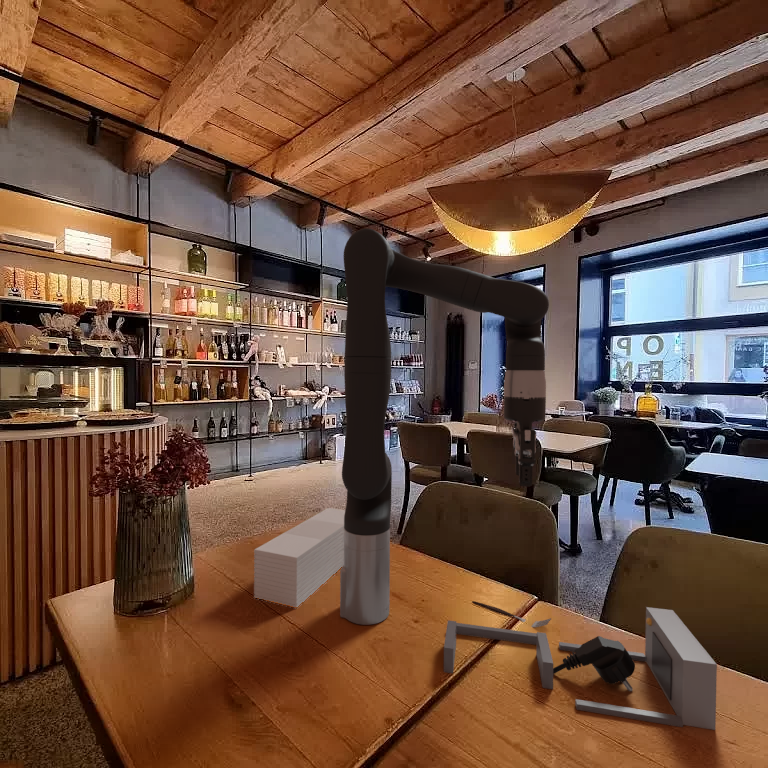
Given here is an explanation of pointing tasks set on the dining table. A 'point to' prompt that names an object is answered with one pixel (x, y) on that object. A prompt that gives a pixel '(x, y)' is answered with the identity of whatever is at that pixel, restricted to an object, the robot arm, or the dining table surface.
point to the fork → (513, 615)
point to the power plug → (602, 660)
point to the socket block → (670, 674)
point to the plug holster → (501, 634)
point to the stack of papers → (300, 559)
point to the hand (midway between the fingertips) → (523, 480)
